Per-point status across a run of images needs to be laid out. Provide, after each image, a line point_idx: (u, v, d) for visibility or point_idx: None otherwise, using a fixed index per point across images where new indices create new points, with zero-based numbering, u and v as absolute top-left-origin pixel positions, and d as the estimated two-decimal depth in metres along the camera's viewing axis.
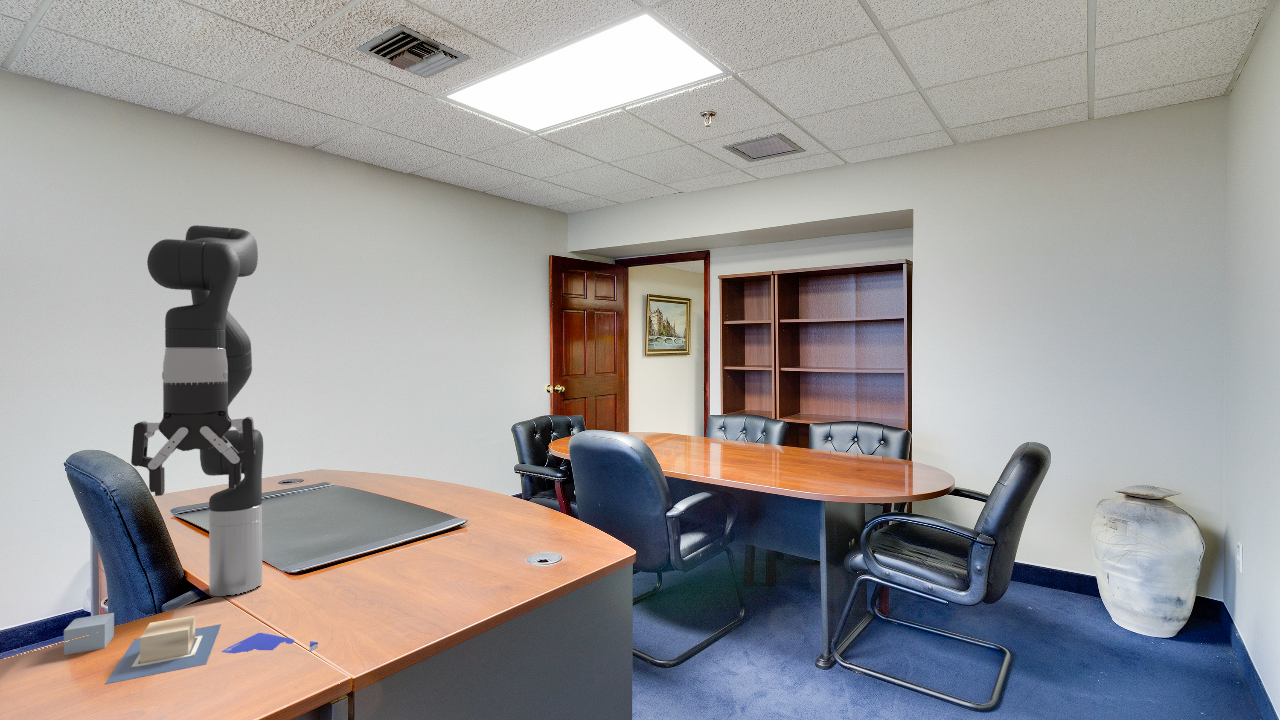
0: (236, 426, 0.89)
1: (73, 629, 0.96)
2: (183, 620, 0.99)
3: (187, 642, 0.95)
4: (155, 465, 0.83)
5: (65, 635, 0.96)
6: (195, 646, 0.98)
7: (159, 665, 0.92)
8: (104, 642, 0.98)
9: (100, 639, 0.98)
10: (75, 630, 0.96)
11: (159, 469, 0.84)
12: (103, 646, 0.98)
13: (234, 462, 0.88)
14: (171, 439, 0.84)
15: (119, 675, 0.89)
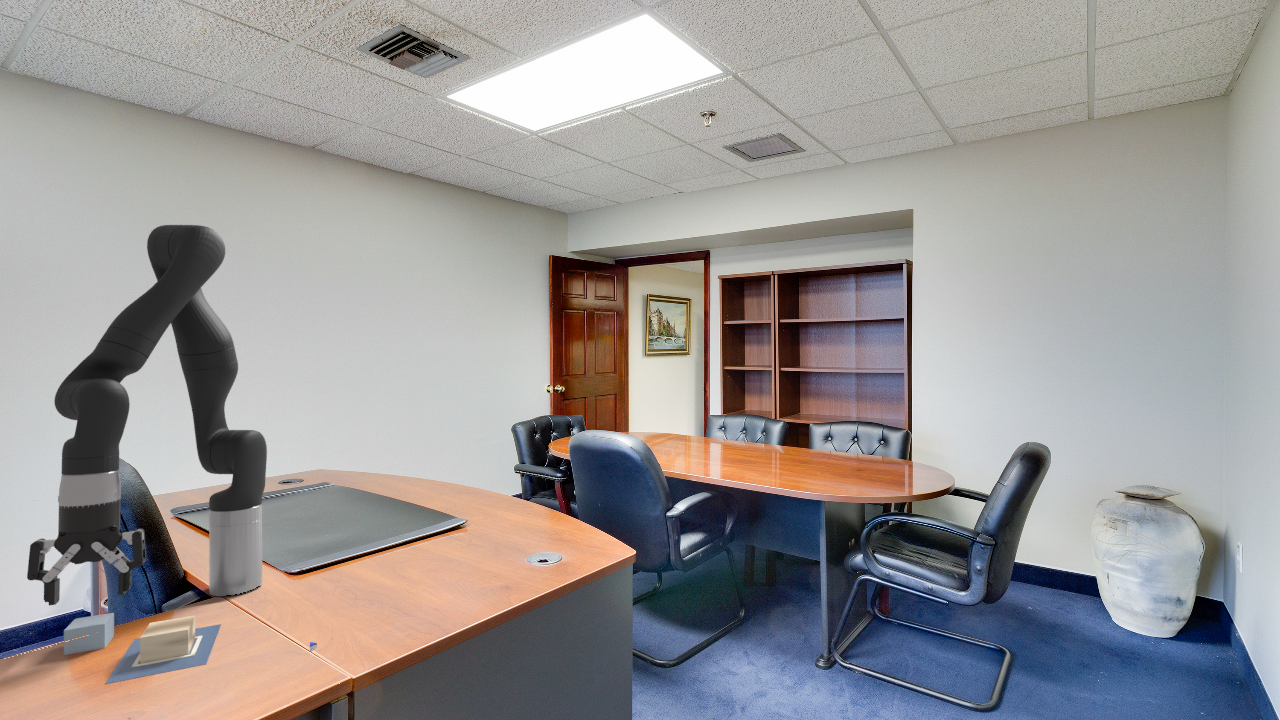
0: (127, 539, 1.01)
1: (73, 629, 0.96)
2: (183, 620, 0.99)
3: (187, 642, 0.95)
4: (49, 578, 0.95)
5: (65, 635, 0.96)
6: (195, 646, 0.98)
7: (159, 665, 0.92)
8: (104, 642, 0.98)
9: (100, 639, 0.98)
10: (75, 630, 0.96)
11: (53, 581, 0.96)
12: (103, 646, 0.98)
13: (124, 571, 1.00)
14: (64, 555, 0.96)
15: (119, 675, 0.89)
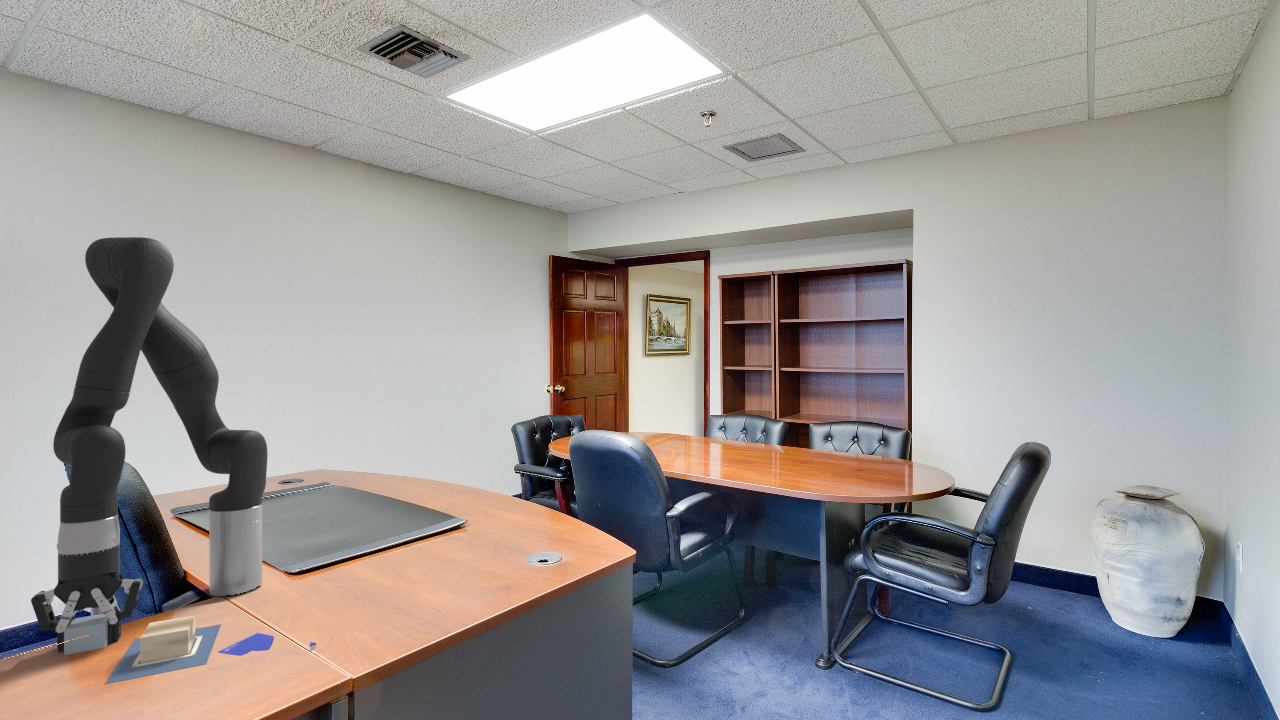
0: (125, 586, 1.01)
1: (73, 628, 0.96)
2: (183, 620, 0.99)
3: (187, 642, 0.95)
4: (62, 629, 0.96)
5: (65, 634, 0.96)
6: (195, 646, 0.98)
7: (159, 665, 0.92)
8: (104, 641, 0.98)
9: (101, 639, 0.98)
10: (76, 630, 0.96)
11: None
12: (103, 645, 0.98)
13: (111, 623, 0.99)
14: (67, 604, 0.96)
15: (119, 675, 0.89)
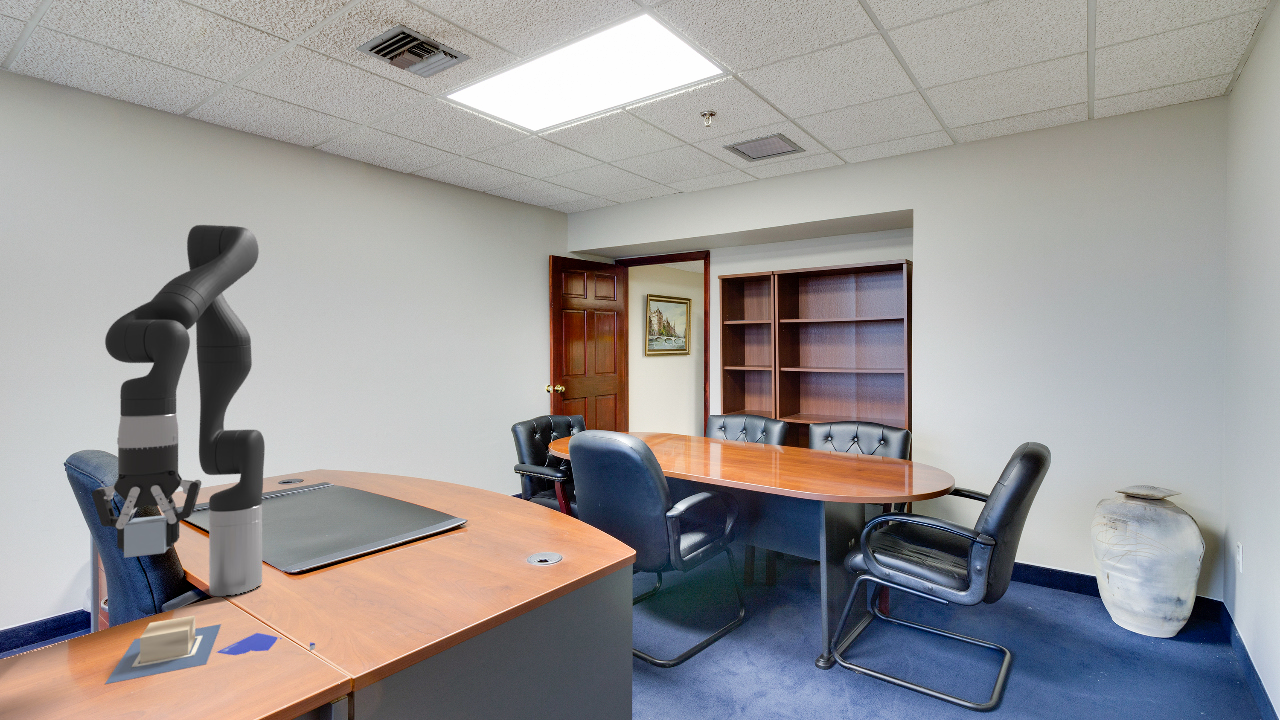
0: (183, 487, 0.99)
1: (133, 525, 0.94)
2: (183, 620, 0.99)
3: (187, 642, 0.95)
4: (122, 525, 0.94)
5: (125, 530, 0.94)
6: (195, 646, 0.98)
7: (159, 665, 0.92)
8: (163, 540, 0.96)
9: (160, 537, 0.95)
10: (135, 526, 0.94)
11: None
12: (162, 544, 0.96)
13: (170, 522, 0.97)
14: (127, 499, 0.94)
15: (119, 675, 0.89)
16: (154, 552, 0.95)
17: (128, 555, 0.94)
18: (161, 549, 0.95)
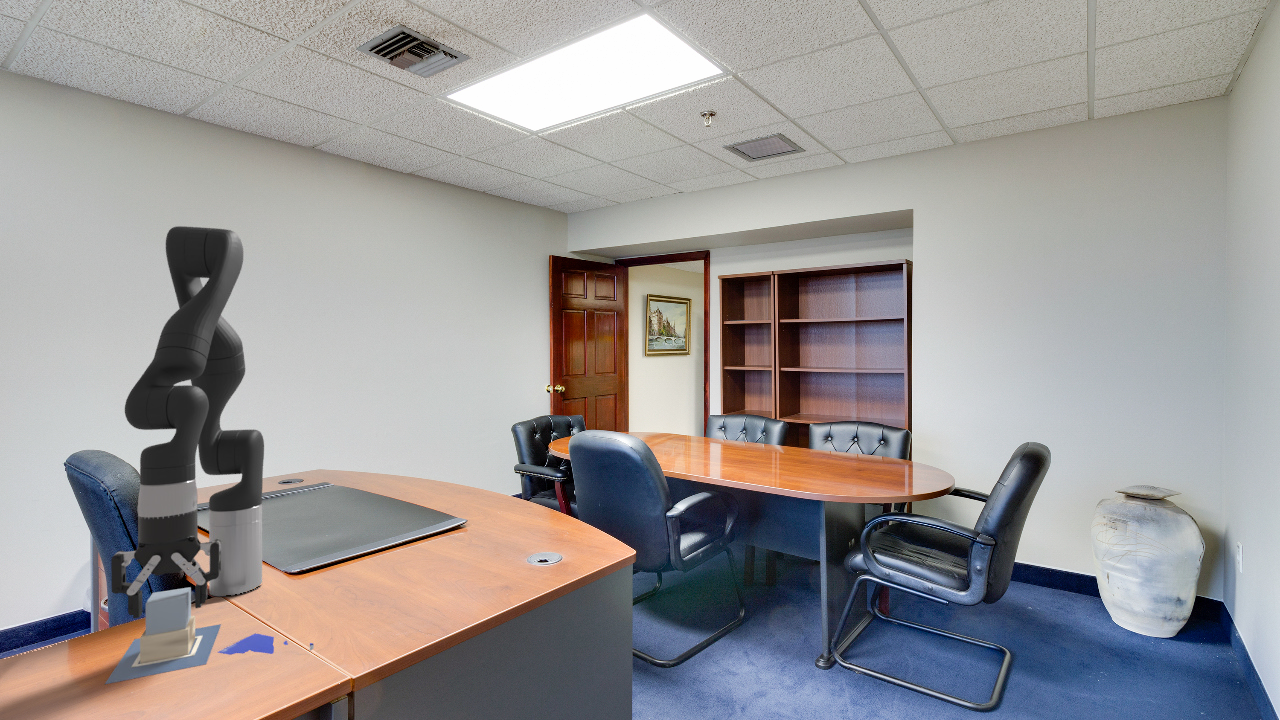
0: (204, 549, 0.98)
1: (155, 602, 0.94)
2: None
3: (187, 642, 0.95)
4: (133, 591, 0.94)
5: (147, 608, 0.93)
6: (195, 646, 0.98)
7: (159, 665, 0.92)
8: (185, 616, 0.96)
9: (181, 613, 0.95)
10: (157, 603, 0.94)
11: (137, 594, 0.94)
12: (184, 620, 0.96)
13: (200, 584, 0.98)
14: (146, 567, 0.94)
15: (119, 675, 0.89)
16: (176, 628, 0.95)
17: (150, 633, 0.93)
18: (182, 625, 0.95)
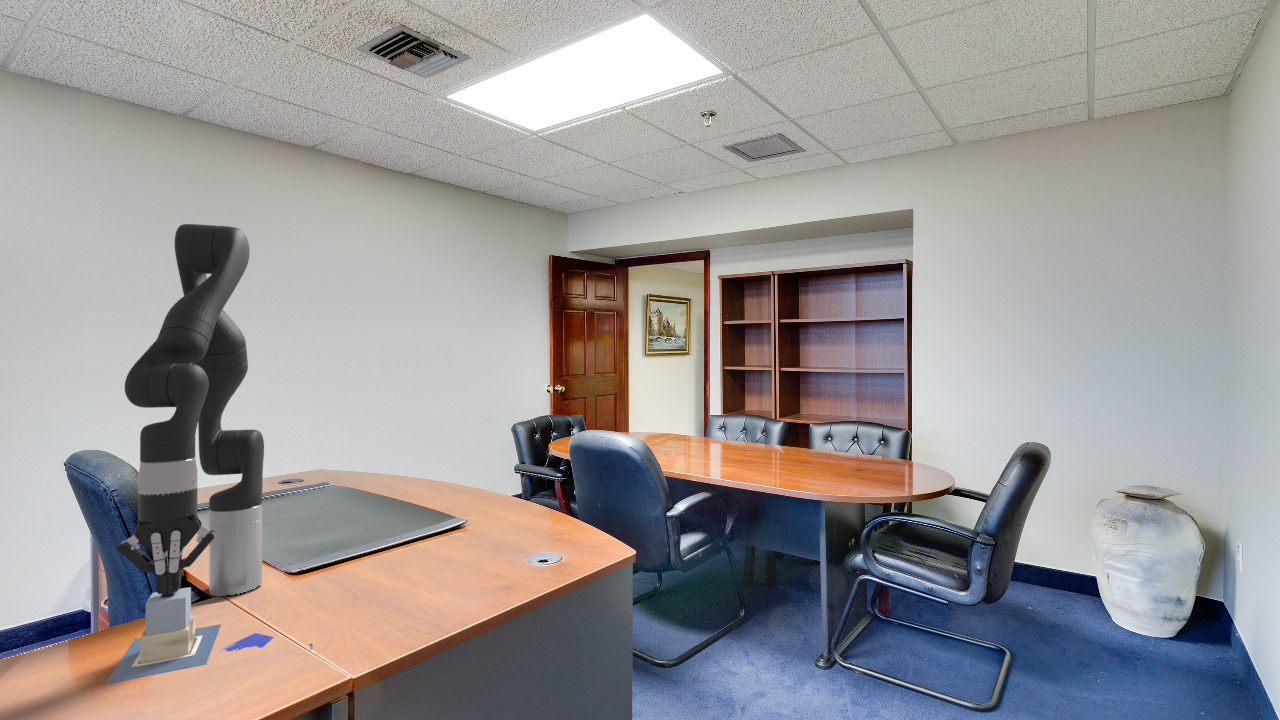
0: (199, 534, 0.98)
1: (155, 602, 0.94)
2: None
3: (187, 642, 0.95)
4: (162, 571, 0.95)
5: (147, 608, 0.93)
6: (195, 646, 0.98)
7: (159, 665, 0.92)
8: (185, 616, 0.96)
9: (181, 613, 0.95)
10: (157, 603, 0.94)
11: (165, 573, 0.96)
12: (184, 620, 0.96)
13: (171, 571, 0.96)
14: (153, 547, 0.94)
15: (119, 675, 0.89)
16: (176, 628, 0.95)
17: (150, 633, 0.93)
18: (182, 625, 0.95)
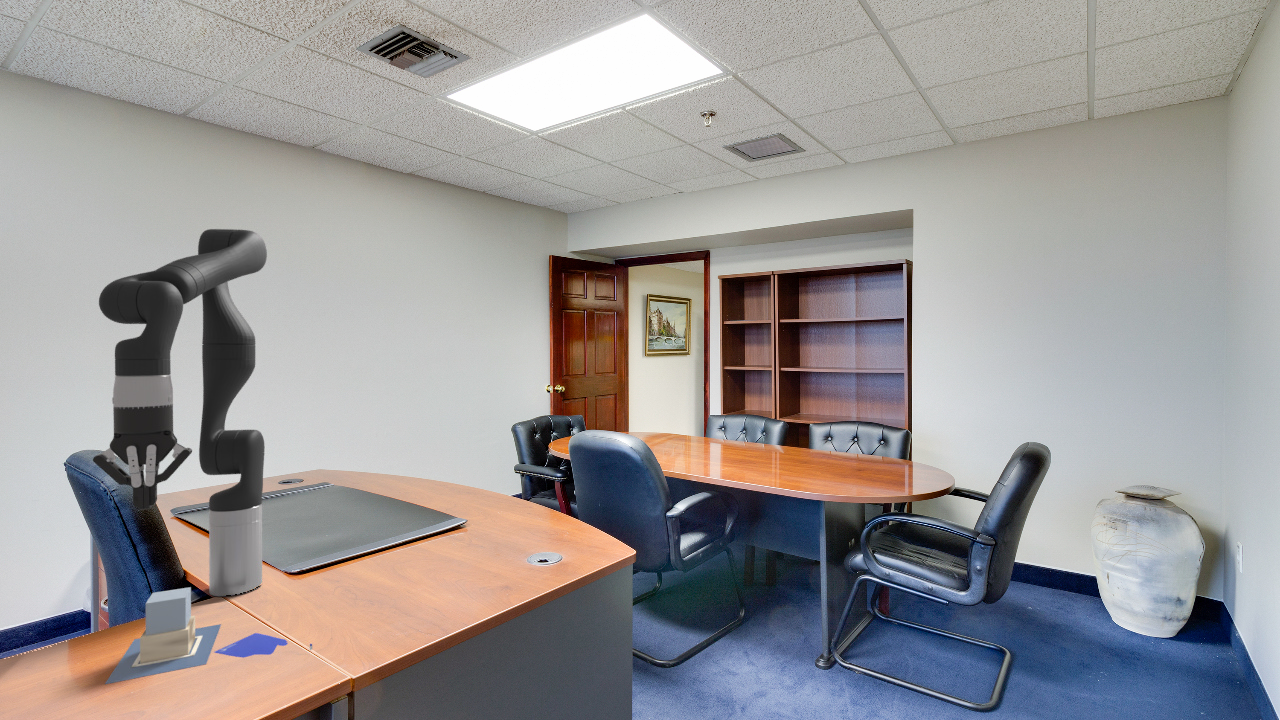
0: (175, 450, 1.00)
1: (155, 602, 0.94)
2: None
3: (187, 642, 0.95)
4: (138, 483, 0.97)
5: (147, 608, 0.93)
6: (195, 646, 0.98)
7: (159, 665, 0.92)
8: (185, 616, 0.96)
9: (181, 613, 0.95)
10: (157, 603, 0.94)
11: (142, 487, 0.97)
12: (184, 620, 0.96)
13: (147, 484, 0.98)
14: (129, 459, 0.96)
15: (119, 675, 0.89)
16: (176, 628, 0.95)
17: (150, 633, 0.93)
18: (182, 625, 0.95)
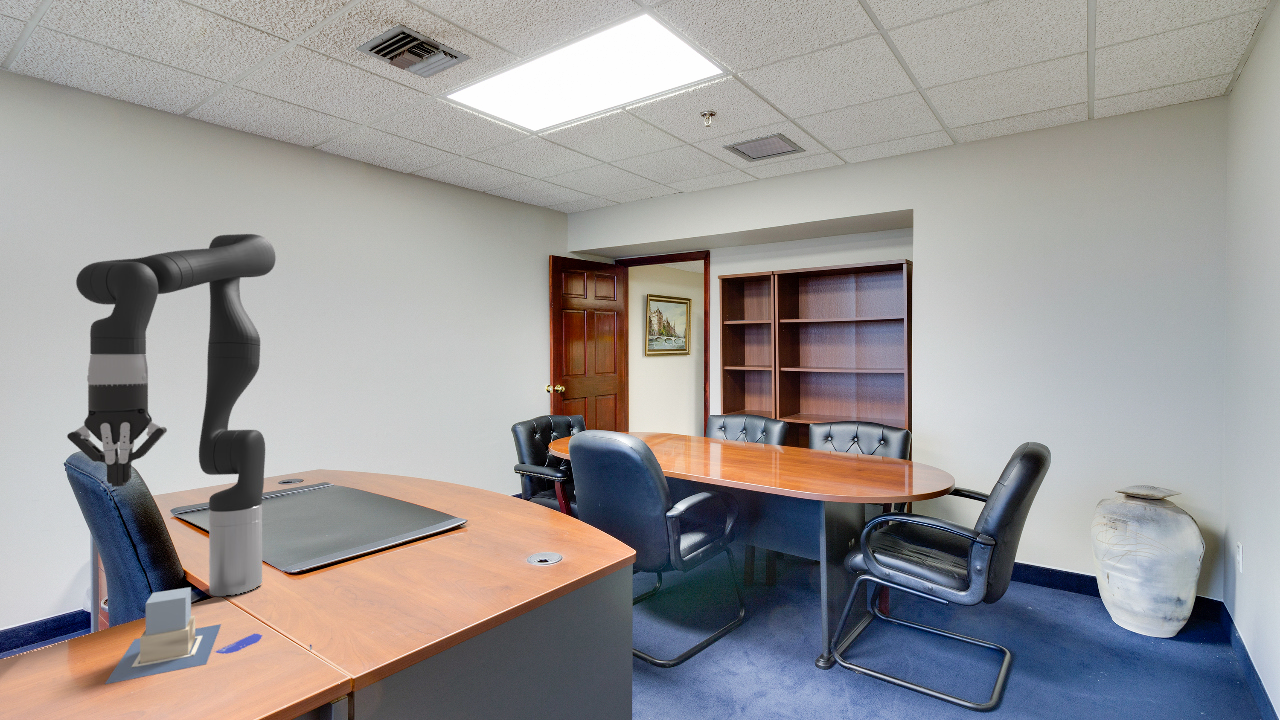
0: (149, 429, 1.01)
1: (155, 602, 0.94)
2: None
3: (187, 642, 0.95)
4: (112, 460, 0.99)
5: (147, 608, 0.93)
6: (195, 646, 0.98)
7: (159, 665, 0.92)
8: (185, 616, 0.96)
9: (181, 613, 0.95)
10: (157, 603, 0.94)
11: (115, 464, 0.99)
12: (184, 620, 0.96)
13: (120, 461, 0.99)
14: (103, 437, 0.98)
15: (119, 675, 0.89)
16: (176, 628, 0.95)
17: (150, 633, 0.93)
18: (182, 625, 0.95)
